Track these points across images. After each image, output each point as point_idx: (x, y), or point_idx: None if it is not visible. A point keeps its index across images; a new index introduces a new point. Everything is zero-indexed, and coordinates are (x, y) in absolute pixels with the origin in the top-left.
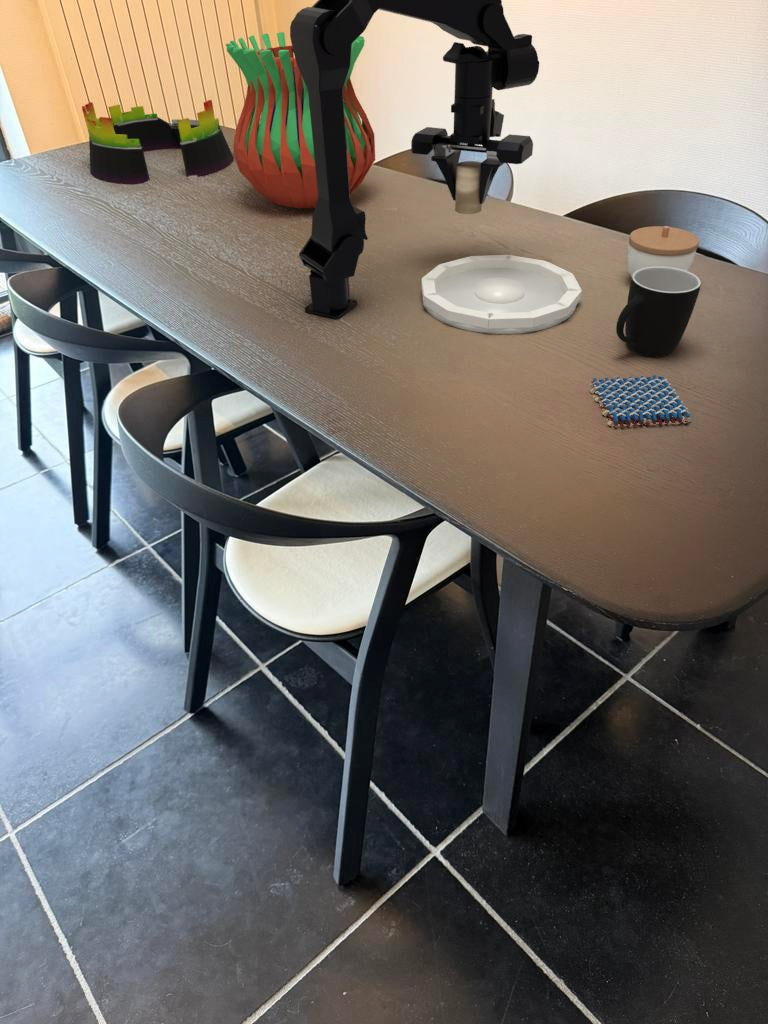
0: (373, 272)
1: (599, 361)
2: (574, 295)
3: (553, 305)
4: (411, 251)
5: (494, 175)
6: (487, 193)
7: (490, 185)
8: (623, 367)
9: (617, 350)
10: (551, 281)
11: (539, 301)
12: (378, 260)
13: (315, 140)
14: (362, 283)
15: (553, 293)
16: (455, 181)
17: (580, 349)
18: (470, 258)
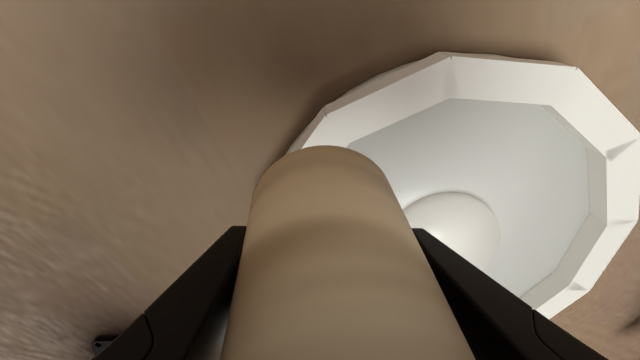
0: (81, 209)
1: (595, 340)
2: (614, 247)
3: (560, 295)
4: (50, 8)
5: (586, 354)
6: (457, 254)
7: (502, 288)
8: (625, 341)
9: (631, 311)
10: (566, 138)
11: (526, 244)
12: (20, 131)
13: None
14: (108, 266)
15: (562, 200)
16: (220, 345)
17: (574, 325)
18: (330, 134)
